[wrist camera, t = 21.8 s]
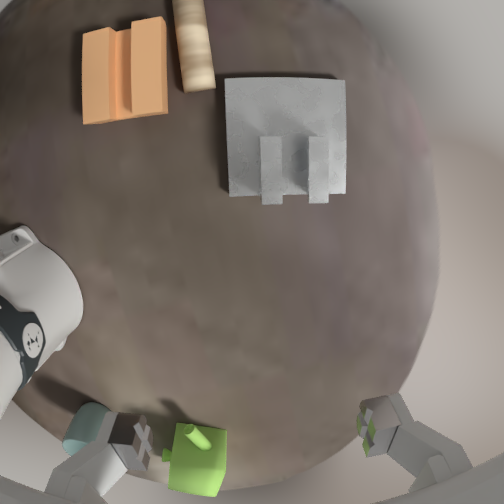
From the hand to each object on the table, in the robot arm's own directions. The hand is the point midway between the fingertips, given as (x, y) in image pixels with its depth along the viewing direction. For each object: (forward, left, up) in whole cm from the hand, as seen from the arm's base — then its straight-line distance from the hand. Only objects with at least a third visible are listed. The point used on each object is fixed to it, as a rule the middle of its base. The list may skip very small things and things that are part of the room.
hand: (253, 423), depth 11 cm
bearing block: (+5, +6, -27) cm, 28 cm away
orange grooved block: (-11, +17, -27) cm, 34 cm away
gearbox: (-10, -37, -27) cm, 47 cm away
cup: (-26, -32, -27) cm, 49 cm away
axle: (-4, +21, -24) cm, 32 cm away
